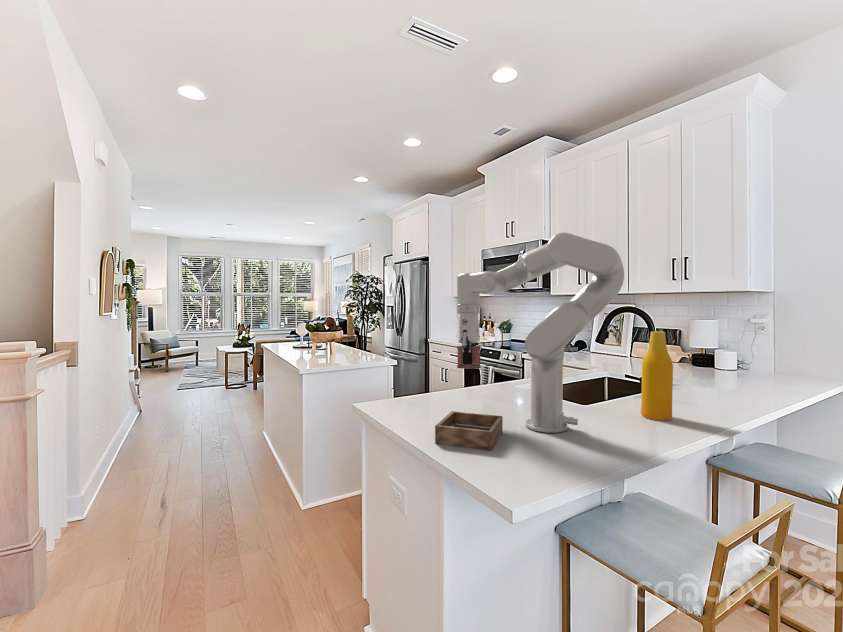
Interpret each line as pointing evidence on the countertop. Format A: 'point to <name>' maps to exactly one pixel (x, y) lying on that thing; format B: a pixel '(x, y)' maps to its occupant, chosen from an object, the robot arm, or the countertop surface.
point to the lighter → (475, 357)
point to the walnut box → (469, 430)
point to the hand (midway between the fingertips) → (469, 362)
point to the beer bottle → (657, 380)
